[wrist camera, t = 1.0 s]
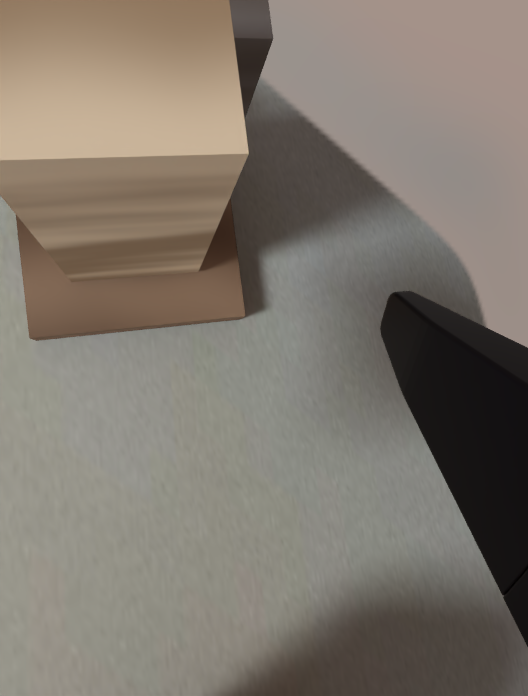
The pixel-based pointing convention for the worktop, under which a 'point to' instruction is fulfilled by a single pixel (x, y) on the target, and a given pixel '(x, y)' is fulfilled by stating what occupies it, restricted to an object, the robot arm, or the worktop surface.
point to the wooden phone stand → (157, 290)
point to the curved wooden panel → (120, 130)
